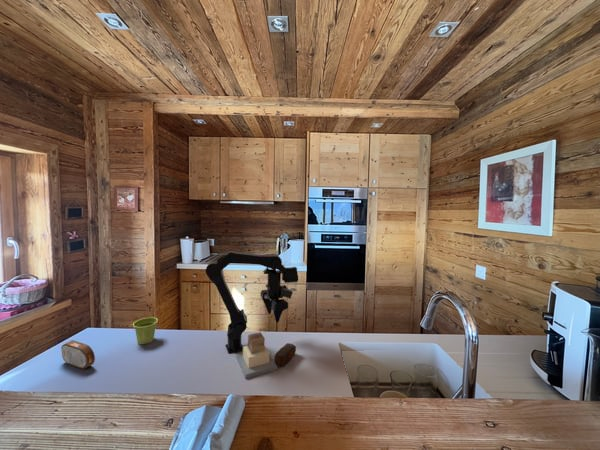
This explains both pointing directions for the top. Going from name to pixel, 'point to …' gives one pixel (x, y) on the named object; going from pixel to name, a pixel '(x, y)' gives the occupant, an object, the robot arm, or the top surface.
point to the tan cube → (256, 342)
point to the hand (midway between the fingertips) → (273, 317)
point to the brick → (284, 355)
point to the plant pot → (145, 329)
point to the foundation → (255, 362)
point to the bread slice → (78, 354)
